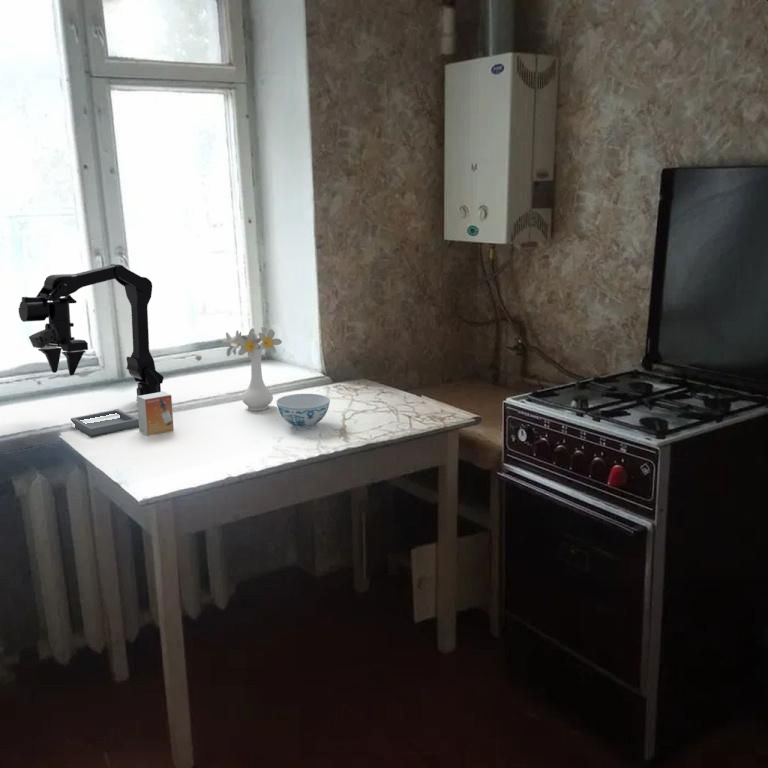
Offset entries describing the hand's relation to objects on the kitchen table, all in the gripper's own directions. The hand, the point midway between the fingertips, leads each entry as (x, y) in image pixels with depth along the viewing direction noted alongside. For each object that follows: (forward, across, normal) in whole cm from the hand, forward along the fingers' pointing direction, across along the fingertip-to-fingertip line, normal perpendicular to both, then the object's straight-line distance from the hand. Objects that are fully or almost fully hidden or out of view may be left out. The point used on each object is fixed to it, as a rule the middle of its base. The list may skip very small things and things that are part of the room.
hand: (63, 373), depth 232 cm
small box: (+15, +28, +11) cm, 34 cm away
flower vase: (+13, +33, +44) cm, 56 cm away
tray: (+15, +13, +4) cm, 20 cm away
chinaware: (+15, +58, +39) cm, 71 cm away
